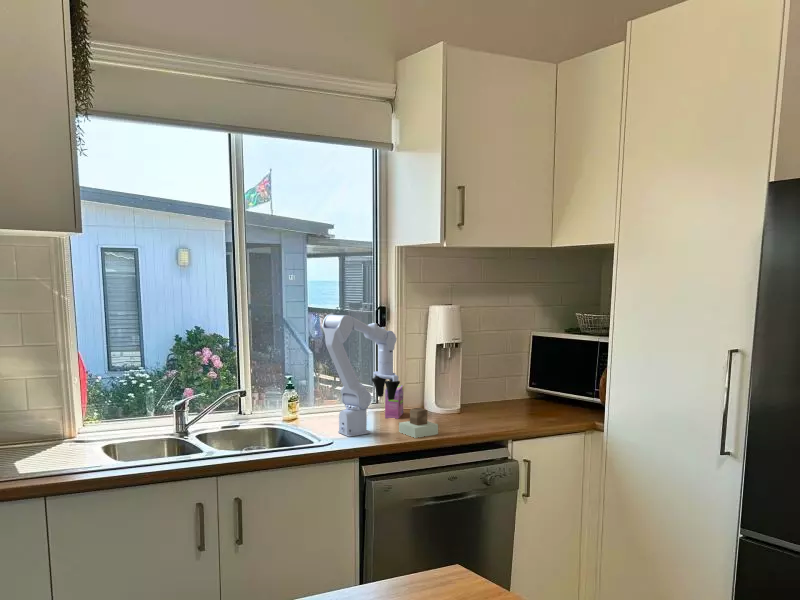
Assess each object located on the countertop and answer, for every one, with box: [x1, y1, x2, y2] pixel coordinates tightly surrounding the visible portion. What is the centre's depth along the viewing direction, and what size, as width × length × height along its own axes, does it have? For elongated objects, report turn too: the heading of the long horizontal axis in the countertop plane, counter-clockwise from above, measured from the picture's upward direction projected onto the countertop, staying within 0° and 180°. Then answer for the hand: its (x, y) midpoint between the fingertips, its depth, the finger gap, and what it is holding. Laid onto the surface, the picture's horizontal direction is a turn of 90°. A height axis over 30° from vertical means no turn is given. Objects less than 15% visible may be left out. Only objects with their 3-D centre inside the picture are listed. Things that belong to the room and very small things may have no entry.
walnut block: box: [409, 407, 428, 425], centre depth 214 cm, size 4×4×5 cm
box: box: [384, 384, 405, 420], centre depth 243 cm, size 10×6×12 cm, turn 168°
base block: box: [398, 420, 439, 439], centre depth 214 cm, size 10×10×4 cm
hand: (385, 397), depth 226 cm, fingers open, 7 cm apart
